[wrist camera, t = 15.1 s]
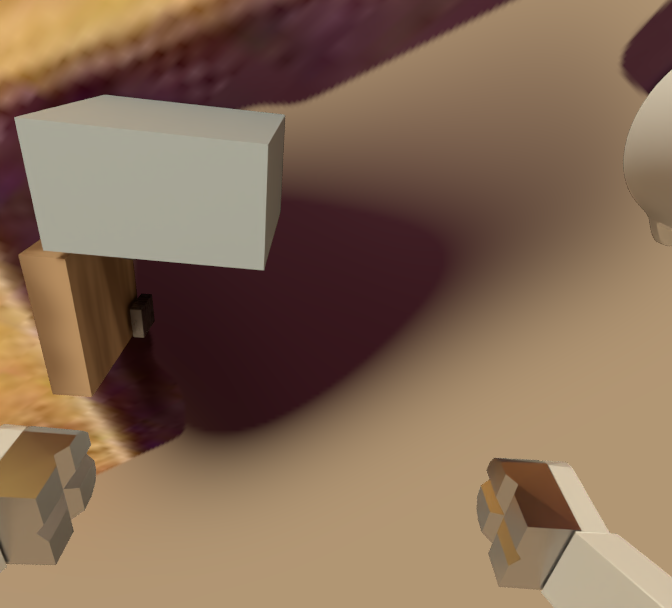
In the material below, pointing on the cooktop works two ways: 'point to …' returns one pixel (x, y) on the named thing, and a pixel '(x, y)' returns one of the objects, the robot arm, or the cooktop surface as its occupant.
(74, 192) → the cabinet
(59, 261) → the door
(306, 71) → the cooktop surface
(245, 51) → the cooktop surface
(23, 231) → the cooktop surface
